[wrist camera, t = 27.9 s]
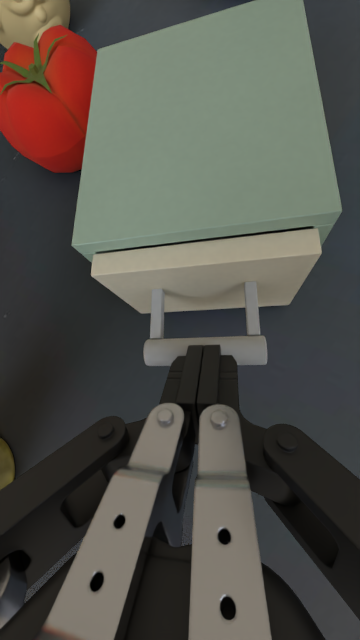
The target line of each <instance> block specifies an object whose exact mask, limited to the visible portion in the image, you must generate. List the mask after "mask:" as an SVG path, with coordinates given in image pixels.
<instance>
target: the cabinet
mask: <svg viewBox="0 0 360 640" xmlns="http://www.w3.org/2000/svg"><path fill="white" fill-rule="evenodd" d="M341 212H342V206H341V201H340V195H339V190H338V185H337V179H336V174H335V169H334V163H333V158H332V153H331V147H330V142H329V137H328V131H327V126H326V121H325V115H324V110H323V105H322V99H321V94H320V89H319V83H318V78H317V73H316V67H315V62H314V57H313V51H312V46H311V41H310V35H309V30H308V25H307V19H306V14H305V9H304V3H303V0H255V1H251V2H248V3H245V4H242V5H239V6H235V7H232V8H229V9H226V10H223V11H219V12H216V13H213V14H210V15H207V16H203V17H200V18H197V19H194V20H191V21H187V22H184V23H181V24H178V25H175V26H171V27H168V28H165V29H162V30H159V31H155V32H152V33H149V34H146V35H143V36H139V37H136V38H133V39H130V40H127V41H123V42H120V43H117V44H114V45H111V46H107V47H104V48H101V49H98V51H97V58H96V66H95V73H94V81H93V88H92V96H91V103H90V111H89V118H88V126H87V133H86V141H85V148H84V156H83V163H82V171H81V178H80V186H79V193H78V201H77V208H76V216H75V223H74V231H73V238H72V246H73V247H74V248H75V249H76V250H77V251H78V252H80V253H82V255H83V256H84V257H86V258H87V259H88V260H89V261H90V262H92V260H93V255H94V254H101V253H109V252H118V251H125V250H124V248H132V247H141V246H149V245H157V244H166V243H174V242H182V241H191V240H199V239H207V238H216V237H224V236H232V235H241V234H249V233H257V232H266V231H274V230H283V229H288V230H287V232H288V231H296V230H305V229H313V228H318V232H319V238H320V245H321V246H322V244H323V242H324V241H325V239H326V237H327V236H328V234H329V232H330V231H331V229H332V227H333V226H334V223H335V222H336V221H337V219H338V217H339V216H340V214H341Z"/></svg>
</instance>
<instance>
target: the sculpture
mask: <svg viewBox="0 0 360 640" xmlns="http://www.w3.org/2000/svg"><path fill="white" fill-rule="evenodd" d="M69 21H70V1H69V0H0V44H2V45H3V46H4V47H5V48H7V49H9V48H10V46H11V45H12V44H13V42H17V43H20V44H23V45H26V46H30V47H33V48H34V40H35V39H36V37H37V35H38V33H39V36H38V39H37V42H39V40H40V38H41V35H42V33H43V32H44V31H46V30H47V29H49V28H50V27H53V26H57V25H62V26H63V27H65V28H67V29H68V27H69Z"/></svg>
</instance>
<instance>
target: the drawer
mask: <svg viewBox="0 0 360 640" xmlns="http://www.w3.org/2000/svg"><path fill="white" fill-rule="evenodd" d="M287 230H288V229H283V230H274V231H266V232H257V233H249V234H241V235H232V236H224V237H216V238H207V239H199V240H191V241H182V242H174V243H166V244H157V245H149V246H141V247H132V248H124V250H125V251H118V252H109V253H101V254H94V255H93V260H92V269H91V276H92V277H93V278H95V279H96V280H97V281H99V282H100V283H101V284H103V285H104V286H105V287H107V288H108V289H109V290H111V291H112V292H113V293H115V294H116V295H117V296H119V297H120V298H121V299H123V300H124V301H125V302H127V303H128V304H129V305H131V306H132V307H133V308H135V309H136V310H137V311H139V312H140V313H141V314H142V313H151V326H150V339H148V340H146V342H145V344H144V349H143V356H144V361H145V364H146V365H148V366H171V364H172V362H173V361H174V360H175V359H176V358H177V356H186V353H187V349H188V346H189V345H204V346H205V345H217V344H220V346H221V355H232V356H233V357H234V359H235V360H236V362H237V365H265V364H266V363H267V345H266V339H265V337H264V336H260V323H259V310H258V307H262V306H279V305H289V304H290V303H291V301H292V300H293V298H294V296H295V295H296V293H297V292H298V290H299V288H300V287H301V285H302V284H303V282H304V280H305V279H306V277H307V276H308V274H309V273H310V271H311V269H312V268H313V266H314V265H315V263H316V261H317V260H318V258H319V257H320V255H321V253H322V251H321V245H320V238H319V232H318V228H313V229H305V230H296V231H288V232H287ZM228 308H245V309H246V325H247V336H234V337H205V338H176V339H164V312H176V311H193V310H211V309H228Z"/></svg>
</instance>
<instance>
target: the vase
mask: <svg viewBox="0 0 360 640" xmlns="http://www.w3.org/2000/svg"><path fill="white" fill-rule="evenodd" d="M14 478H15V463H14V458H13V454H12V452H11V450H10V448H9V446H8V445H7V443H6V442H5V441H4V440H3V439H1V438H0V490H1V489H2V488H4V487H5V486H7V485H8V484H10V483H11V482H12V481H14Z"/></svg>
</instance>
